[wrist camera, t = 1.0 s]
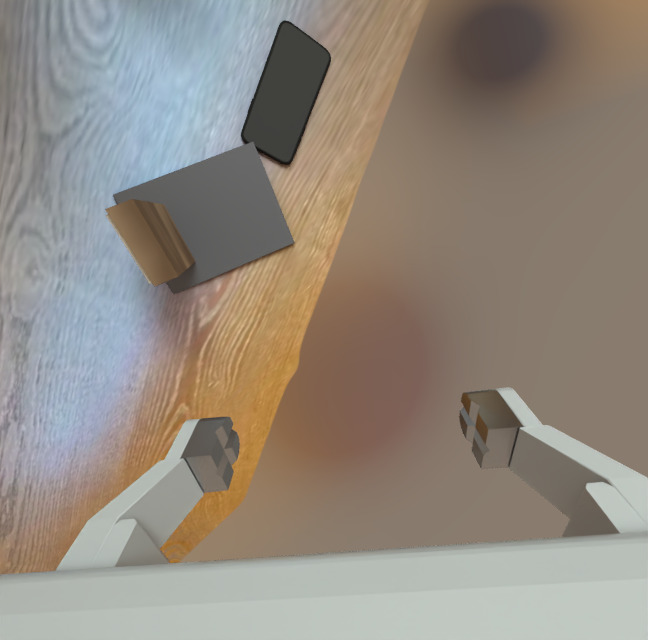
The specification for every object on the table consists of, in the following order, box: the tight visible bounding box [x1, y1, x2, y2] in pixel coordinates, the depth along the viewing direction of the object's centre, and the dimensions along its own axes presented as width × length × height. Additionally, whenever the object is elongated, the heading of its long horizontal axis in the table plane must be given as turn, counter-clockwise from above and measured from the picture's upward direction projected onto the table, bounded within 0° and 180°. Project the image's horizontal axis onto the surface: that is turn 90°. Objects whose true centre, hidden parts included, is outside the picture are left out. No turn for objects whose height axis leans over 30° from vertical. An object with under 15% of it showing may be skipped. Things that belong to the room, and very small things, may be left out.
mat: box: [113, 142, 294, 294], centre depth 41 cm, size 19×14×1 cm
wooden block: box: [105, 199, 195, 287], centre depth 35 cm, size 3×8×12 cm, turn 21°
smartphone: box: [241, 21, 331, 165], centre depth 39 cm, size 7×1×15 cm
